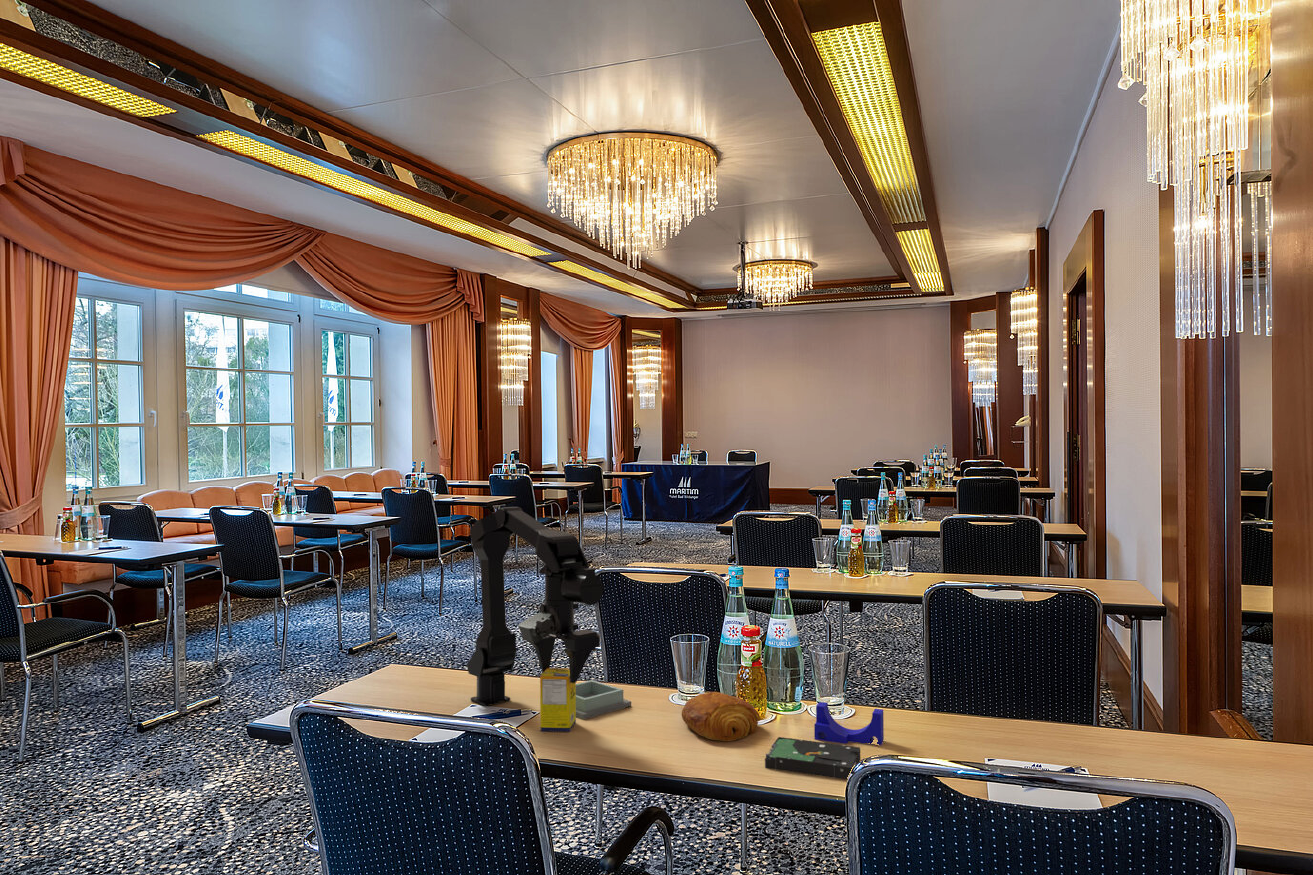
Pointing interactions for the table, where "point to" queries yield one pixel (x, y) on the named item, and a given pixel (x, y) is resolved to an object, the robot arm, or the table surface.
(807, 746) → the disk drive
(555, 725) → the supplement box
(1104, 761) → the table surface
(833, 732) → the blue u-shaped cradle
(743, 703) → the croissant
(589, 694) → the socket holder
